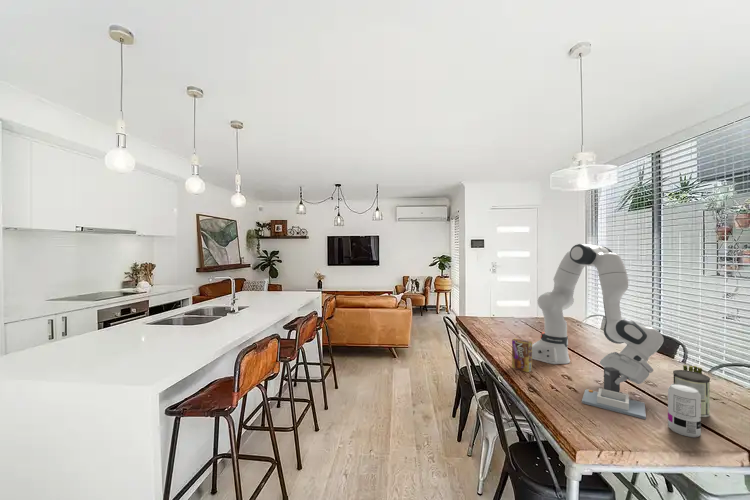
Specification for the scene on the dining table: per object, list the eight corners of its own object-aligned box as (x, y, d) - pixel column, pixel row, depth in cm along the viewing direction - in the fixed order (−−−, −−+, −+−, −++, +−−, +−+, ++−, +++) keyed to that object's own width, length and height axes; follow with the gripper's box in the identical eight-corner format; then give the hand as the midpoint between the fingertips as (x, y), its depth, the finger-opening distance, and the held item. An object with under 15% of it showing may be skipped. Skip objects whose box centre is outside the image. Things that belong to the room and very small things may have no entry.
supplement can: (661, 425, 114) (661, 383, 114) (682, 424, 115) (682, 382, 115) (685, 438, 106) (685, 393, 106) (707, 437, 107) (708, 392, 107)
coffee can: (667, 402, 132) (667, 368, 132) (699, 406, 128) (699, 371, 128) (681, 414, 122) (682, 377, 122) (716, 419, 119) (717, 381, 119)
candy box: (532, 370, 166) (532, 341, 166) (528, 372, 163) (528, 342, 163) (515, 366, 173) (515, 337, 173) (511, 367, 170) (511, 339, 170)
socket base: (581, 403, 131) (581, 394, 131) (585, 391, 142) (585, 383, 142) (645, 419, 118) (645, 409, 118) (644, 405, 129) (644, 396, 129)
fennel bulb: (681, 391, 142) (681, 364, 142) (688, 389, 144) (688, 363, 144) (698, 397, 137) (698, 368, 137) (705, 395, 139) (705, 367, 139)
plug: (603, 389, 144) (603, 367, 144) (612, 389, 144) (612, 367, 144) (610, 393, 140) (610, 370, 140) (619, 393, 140) (619, 370, 140)
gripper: (608, 346, 152) (588, 367, 152) (647, 361, 132) (624, 385, 132) (617, 355, 153) (597, 376, 152) (657, 371, 132) (634, 395, 132)
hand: (610, 380), depth 142 cm, fingers closed on plug, 4 cm apart
